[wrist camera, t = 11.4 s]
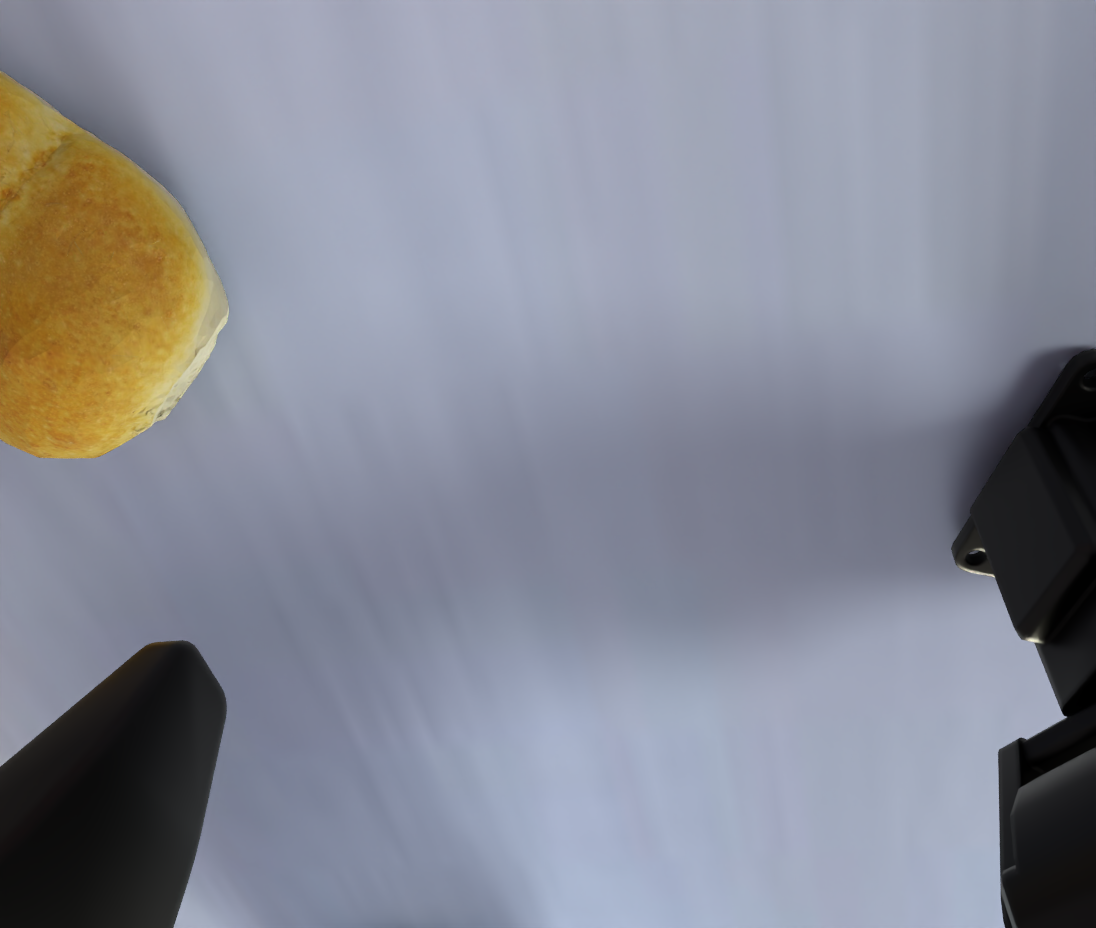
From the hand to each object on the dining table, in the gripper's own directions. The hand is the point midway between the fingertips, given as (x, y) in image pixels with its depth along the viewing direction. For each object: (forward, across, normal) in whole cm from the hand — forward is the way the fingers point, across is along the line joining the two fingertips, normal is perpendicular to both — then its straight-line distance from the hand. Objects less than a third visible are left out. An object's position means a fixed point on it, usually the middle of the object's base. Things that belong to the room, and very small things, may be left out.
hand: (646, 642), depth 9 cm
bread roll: (+13, +14, 0) cm, 19 cm away
